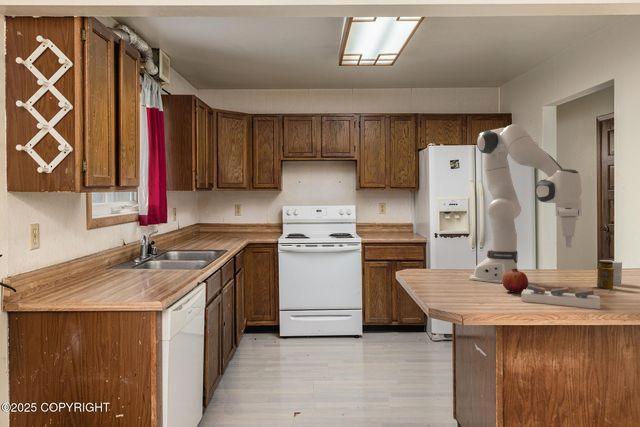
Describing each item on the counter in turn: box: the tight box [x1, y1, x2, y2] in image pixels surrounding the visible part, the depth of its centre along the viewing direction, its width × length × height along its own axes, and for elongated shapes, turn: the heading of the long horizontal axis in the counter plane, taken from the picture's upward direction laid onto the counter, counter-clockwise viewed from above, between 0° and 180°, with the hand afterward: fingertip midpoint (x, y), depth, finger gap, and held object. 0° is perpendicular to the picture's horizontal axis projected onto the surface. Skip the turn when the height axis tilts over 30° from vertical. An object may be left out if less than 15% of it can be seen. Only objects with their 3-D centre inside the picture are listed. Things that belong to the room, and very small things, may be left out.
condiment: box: [590, 260, 617, 292], centre depth 208 cm, size 7×8×12 cm
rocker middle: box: [550, 286, 570, 294], centre depth 179 cm, size 6×4×1 cm, turn 62°
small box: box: [598, 259, 623, 287], centre depth 219 cm, size 8×6×10 cm
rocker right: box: [574, 288, 595, 296], centre depth 176 cm, size 6×4×1 cm, turn 61°
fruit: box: [502, 268, 529, 294], centre depth 199 cm, size 11×10×10 cm
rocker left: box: [526, 283, 546, 293], centre depth 183 cm, size 6×4×1 cm, turn 62°
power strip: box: [520, 289, 601, 310], centre depth 180 cm, size 26×9×4 cm, turn 62°
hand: (568, 247), depth 183 cm, fingers closed
